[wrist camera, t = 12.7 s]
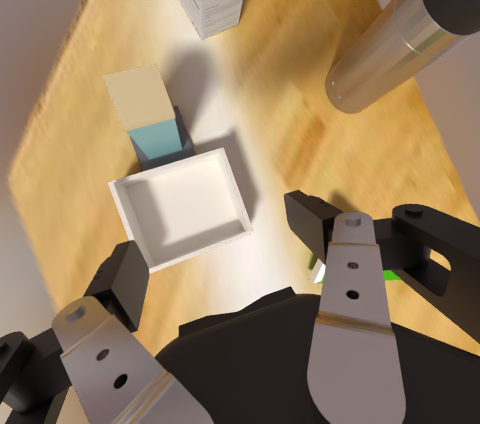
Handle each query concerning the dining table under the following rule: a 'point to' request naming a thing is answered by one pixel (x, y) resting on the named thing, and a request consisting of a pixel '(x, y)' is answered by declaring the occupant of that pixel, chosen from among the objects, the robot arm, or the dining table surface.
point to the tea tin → (145, 109)
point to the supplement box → (212, 15)
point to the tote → (182, 208)
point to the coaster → (169, 158)
